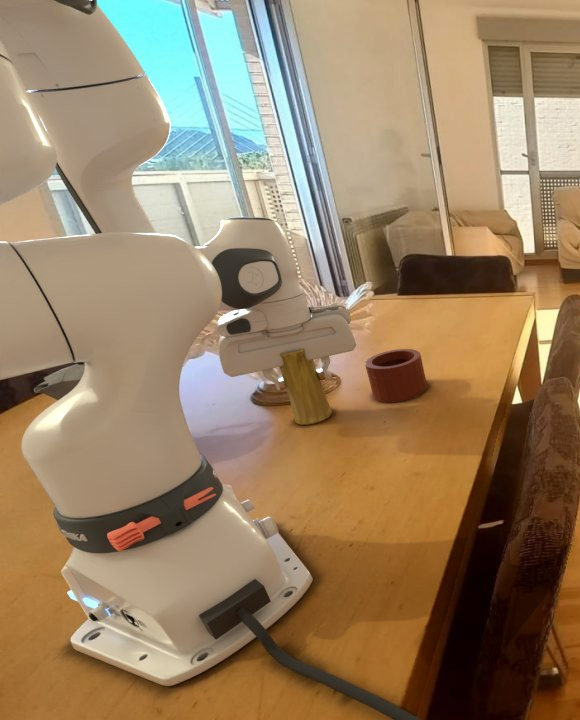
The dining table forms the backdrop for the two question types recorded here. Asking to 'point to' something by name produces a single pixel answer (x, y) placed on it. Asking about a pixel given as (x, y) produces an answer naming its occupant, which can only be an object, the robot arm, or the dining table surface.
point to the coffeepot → (61, 381)
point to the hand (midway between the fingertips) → (303, 383)
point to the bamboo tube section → (304, 388)
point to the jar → (396, 375)
